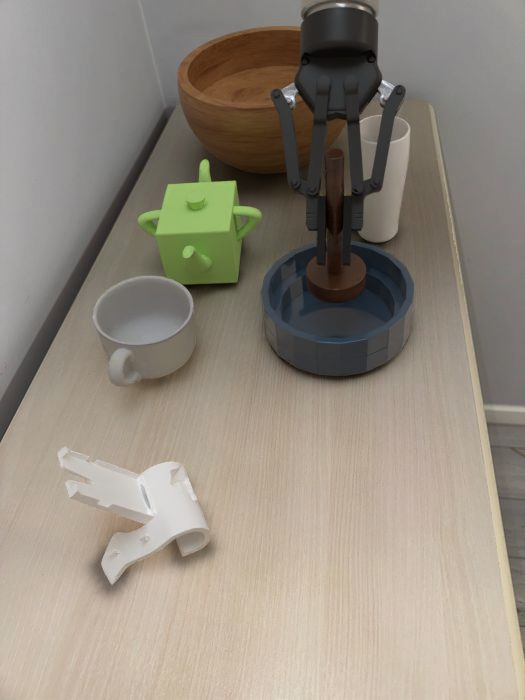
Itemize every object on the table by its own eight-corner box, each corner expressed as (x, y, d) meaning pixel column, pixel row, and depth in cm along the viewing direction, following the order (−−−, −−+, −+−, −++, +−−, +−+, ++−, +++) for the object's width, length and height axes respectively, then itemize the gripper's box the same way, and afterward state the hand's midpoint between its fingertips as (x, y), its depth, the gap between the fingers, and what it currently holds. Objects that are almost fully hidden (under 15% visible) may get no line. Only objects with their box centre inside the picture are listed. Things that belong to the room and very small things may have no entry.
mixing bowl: (429, 298, 80) (434, 259, 76) (378, 399, 71) (380, 362, 66) (303, 265, 86) (300, 227, 82) (240, 354, 77) (234, 316, 72)
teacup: (143, 314, 83) (127, 264, 77) (220, 336, 79) (210, 286, 73) (76, 396, 75) (53, 348, 69) (158, 426, 71) (141, 377, 65)
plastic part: (213, 544, 61) (194, 476, 53) (108, 588, 59) (70, 525, 51) (188, 479, 66) (166, 407, 58) (89, 518, 64) (52, 449, 56)
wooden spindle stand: (374, 272, 74) (379, 141, 63) (352, 309, 71) (353, 178, 59) (321, 258, 77) (317, 130, 65) (297, 294, 73) (287, 165, 61)
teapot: (214, 217, 95) (203, 149, 87) (284, 254, 88) (279, 184, 80) (131, 273, 88) (110, 206, 80) (199, 318, 81) (184, 249, 74)
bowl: (222, 114, 115) (209, 23, 103) (369, 122, 108) (371, 26, 97) (170, 201, 99) (147, 104, 88) (338, 216, 93) (337, 114, 81)
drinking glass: (351, 216, 92) (352, 114, 81) (402, 216, 91) (409, 112, 80) (351, 248, 88) (351, 145, 77) (404, 248, 87) (412, 143, 76)
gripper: (414, 33, 68) (407, 267, 69) (268, 39, 70) (264, 266, 71) (420, -2, 61) (413, 261, 62) (257, 6, 63) (253, 260, 64)
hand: (333, 264), depth 67 cm, fingers closed on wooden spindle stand, 2 cm apart
